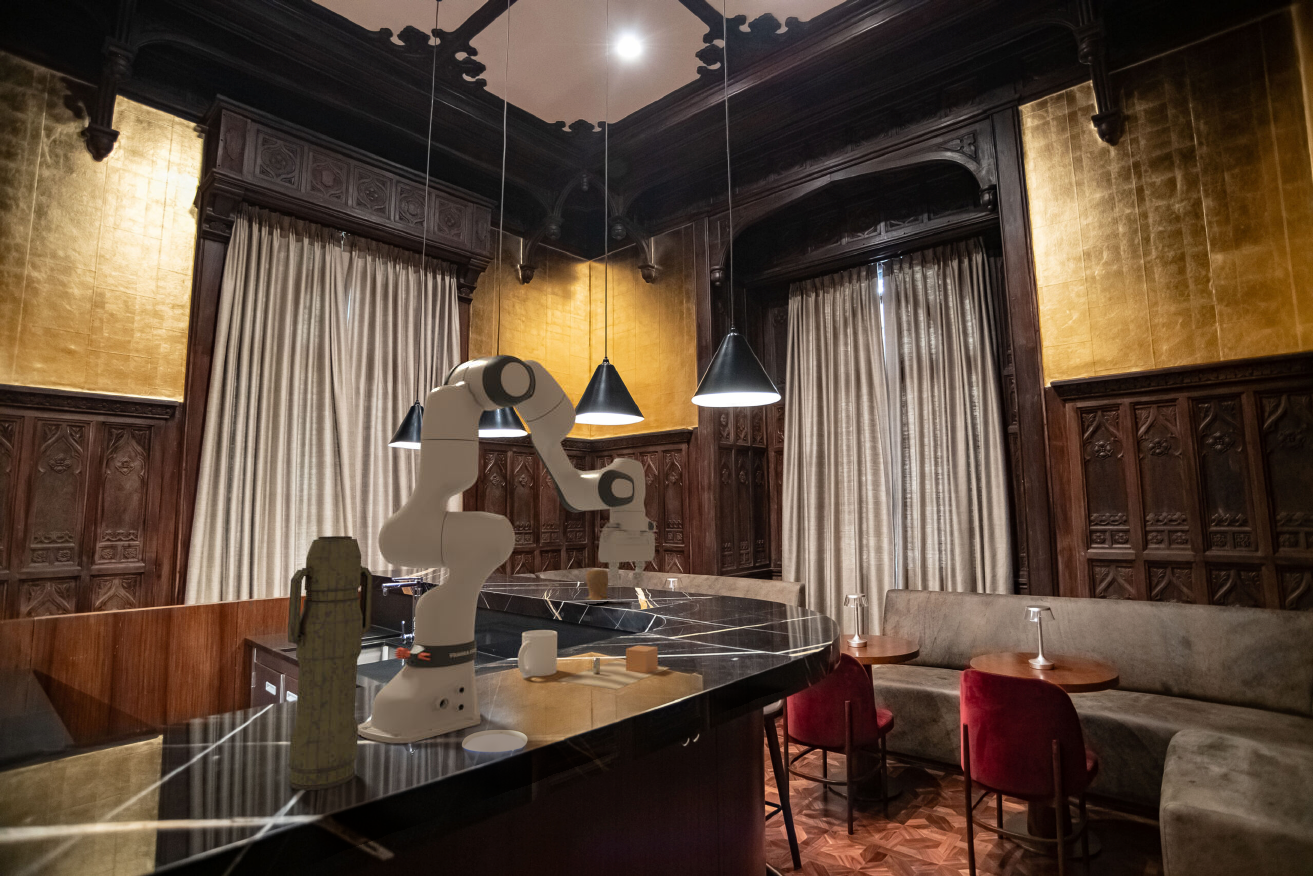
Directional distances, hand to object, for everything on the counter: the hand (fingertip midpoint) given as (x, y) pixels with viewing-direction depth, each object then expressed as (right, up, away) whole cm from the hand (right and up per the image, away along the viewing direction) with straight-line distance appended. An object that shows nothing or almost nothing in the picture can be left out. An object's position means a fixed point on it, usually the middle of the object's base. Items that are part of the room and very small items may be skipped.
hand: (627, 580), depth 166 cm
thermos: (-42, -15, -67) cm, 80 cm away
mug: (-22, -22, -6) cm, 32 cm away
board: (-3, -22, -7) cm, 23 cm away
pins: (-2, -21, -4) cm, 21 cm away
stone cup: (-19, -38, +132) cm, 138 cm away
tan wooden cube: (+4, -21, -2) cm, 21 cm away
